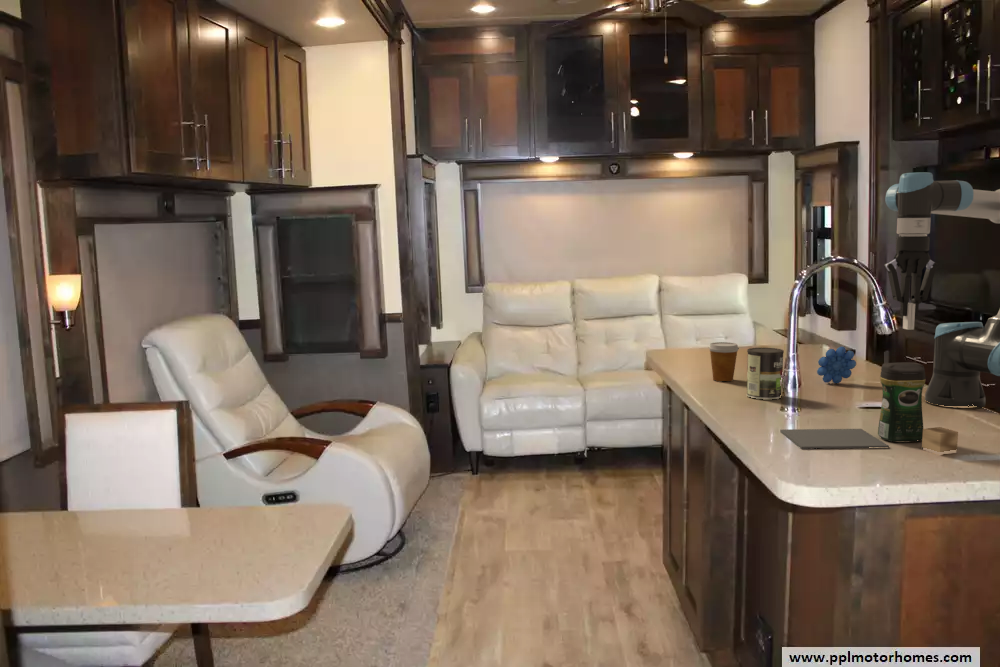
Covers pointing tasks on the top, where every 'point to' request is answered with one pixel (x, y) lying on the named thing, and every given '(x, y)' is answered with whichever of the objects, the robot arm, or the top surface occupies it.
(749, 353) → the coffee can
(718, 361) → the disposable coffee cup
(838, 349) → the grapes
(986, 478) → the top surface
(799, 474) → the top surface
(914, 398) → the coffee jar
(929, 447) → the oak block
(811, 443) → the mat
